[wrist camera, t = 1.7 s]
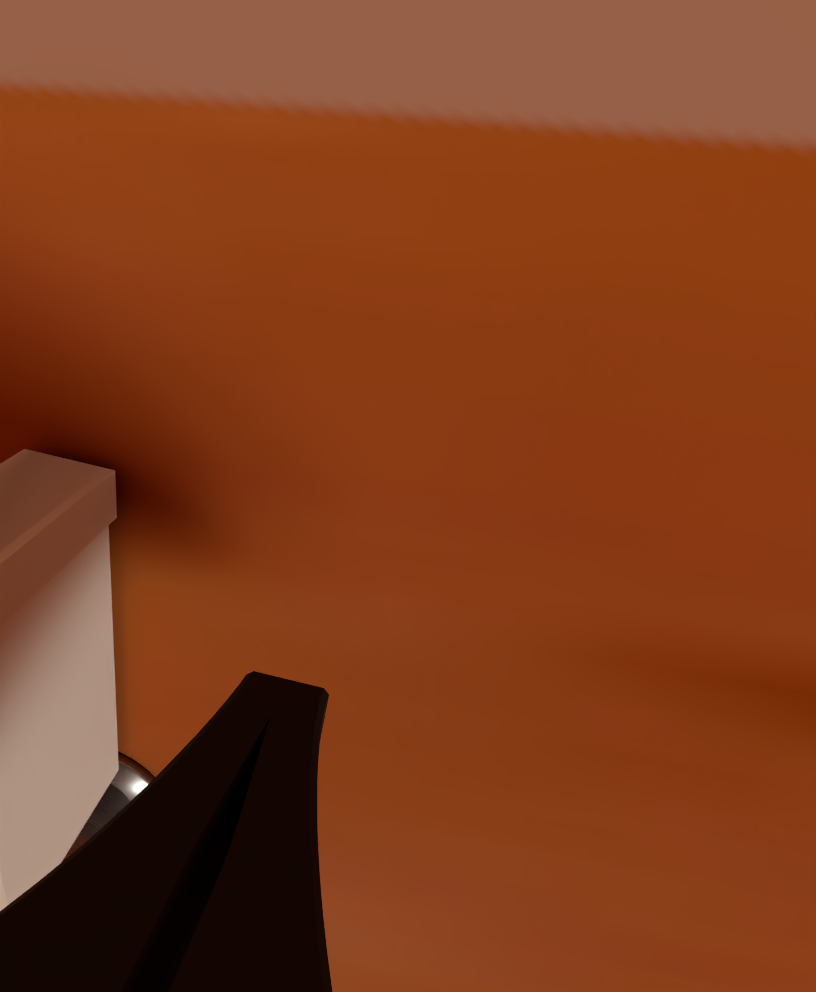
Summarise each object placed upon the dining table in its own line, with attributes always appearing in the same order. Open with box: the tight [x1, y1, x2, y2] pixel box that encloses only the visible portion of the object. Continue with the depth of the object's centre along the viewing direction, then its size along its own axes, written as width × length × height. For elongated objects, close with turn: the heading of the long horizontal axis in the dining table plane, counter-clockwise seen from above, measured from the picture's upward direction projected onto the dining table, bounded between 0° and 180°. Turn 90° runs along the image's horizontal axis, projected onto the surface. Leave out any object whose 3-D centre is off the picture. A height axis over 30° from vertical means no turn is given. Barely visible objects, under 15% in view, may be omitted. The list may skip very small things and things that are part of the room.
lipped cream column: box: [0, 449, 119, 911], centre depth 14 cm, size 10×2×5 cm, turn 169°
